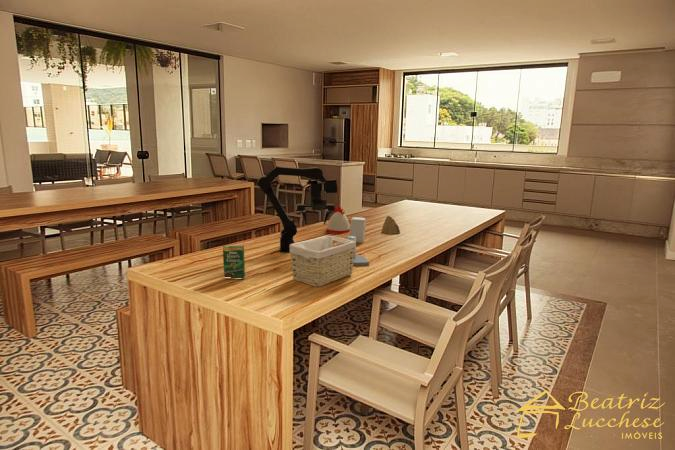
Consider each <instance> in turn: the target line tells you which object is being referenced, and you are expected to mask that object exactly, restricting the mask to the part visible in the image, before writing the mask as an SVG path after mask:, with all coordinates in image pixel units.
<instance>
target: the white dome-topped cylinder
mask: <svg viewBox="0 0 675 450" xmlns="http://www.w3.org/2000/svg"><path fill="white" fill-rule="evenodd" d="M345 239H348V240H353V241H355V252H354V257H353V258H354V259H355V255H357V253H356V252H357V249H356V248H357V247H356V246H357V242H356V237H355V236H350V235H347V236H346V238H345Z"/></svg>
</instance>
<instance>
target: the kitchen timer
mask: <svg viewBox="0 0 675 450" xmlns="http://www.w3.org/2000/svg"><path fill="white" fill-rule="evenodd" d="M334 206H335V205H334ZM333 212H334V213H333V214H332V215H331V216H330V217H329V220H328V223H327V227H326V231H327V233H331V234H332V233H333V234H347V233H350V231H351V224H350V222H349V218H348V217H347V216H346V214H345V210H344V209H343V208H342V206H335V211H333Z"/></svg>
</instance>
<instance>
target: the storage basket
mask: <svg viewBox="0 0 675 450" xmlns="http://www.w3.org/2000/svg"><path fill="white" fill-rule="evenodd" d="M334 244H338V245H336V246H335V245H334ZM289 247H290V252H289V255H290V262H291V270H292V278H293V280H294V281H298V282H301V283H303V284H307V285H311V286H313V287H317V288H319V287H323V286H325V285H329V284H330V283H332V282H336V281H338V280H340V279H343V278H346V277H348V276H351V275H352V274H353V269H354V268H353V267H354V266H353V260H354V258H353V257H354V252H355V241H353V240H348V239H346V238H343V237H339V236H334V235H329V234H328V235H323V236H319V237H315V238H312V239H307V240H303V241H298V242H294V243H293V244H290V246H289Z"/></svg>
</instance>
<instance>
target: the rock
mask: <svg viewBox="0 0 675 450" xmlns="http://www.w3.org/2000/svg"><path fill="white" fill-rule="evenodd" d="M380 232H381V234H400V233H401V230H400V227H399V225H398V224H397V222H396V221H395V219H394V218H393V217H392V216H389V215H387V216H386V218H385V220H384V222H383V225H382V227H381V231H380Z"/></svg>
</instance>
